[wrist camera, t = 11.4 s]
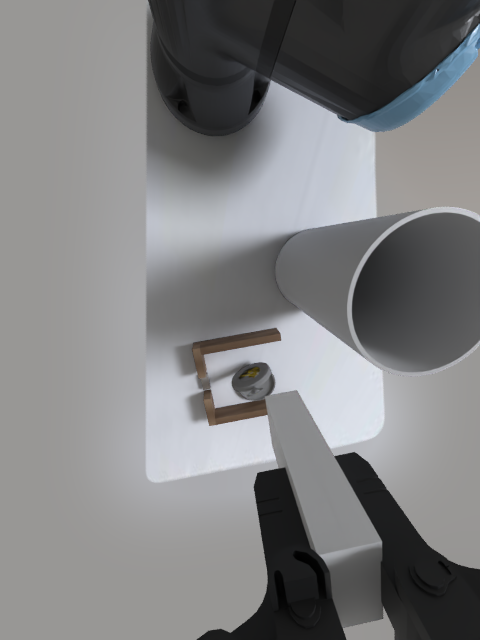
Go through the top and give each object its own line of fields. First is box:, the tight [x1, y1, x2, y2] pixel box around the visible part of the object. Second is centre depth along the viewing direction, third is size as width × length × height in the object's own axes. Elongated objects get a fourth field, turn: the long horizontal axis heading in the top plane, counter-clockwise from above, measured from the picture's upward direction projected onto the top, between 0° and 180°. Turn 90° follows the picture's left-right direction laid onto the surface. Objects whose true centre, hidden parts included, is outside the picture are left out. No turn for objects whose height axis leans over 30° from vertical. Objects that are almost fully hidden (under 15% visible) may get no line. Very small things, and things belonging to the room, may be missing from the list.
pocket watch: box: [232, 362, 275, 401], centre depth 43 cm, size 8×8×10 cm
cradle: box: [192, 328, 281, 426], centre depth 46 cm, size 14×14×3 cm
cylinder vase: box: [275, 207, 480, 376], centre depth 32 cm, size 12×12×25 cm
